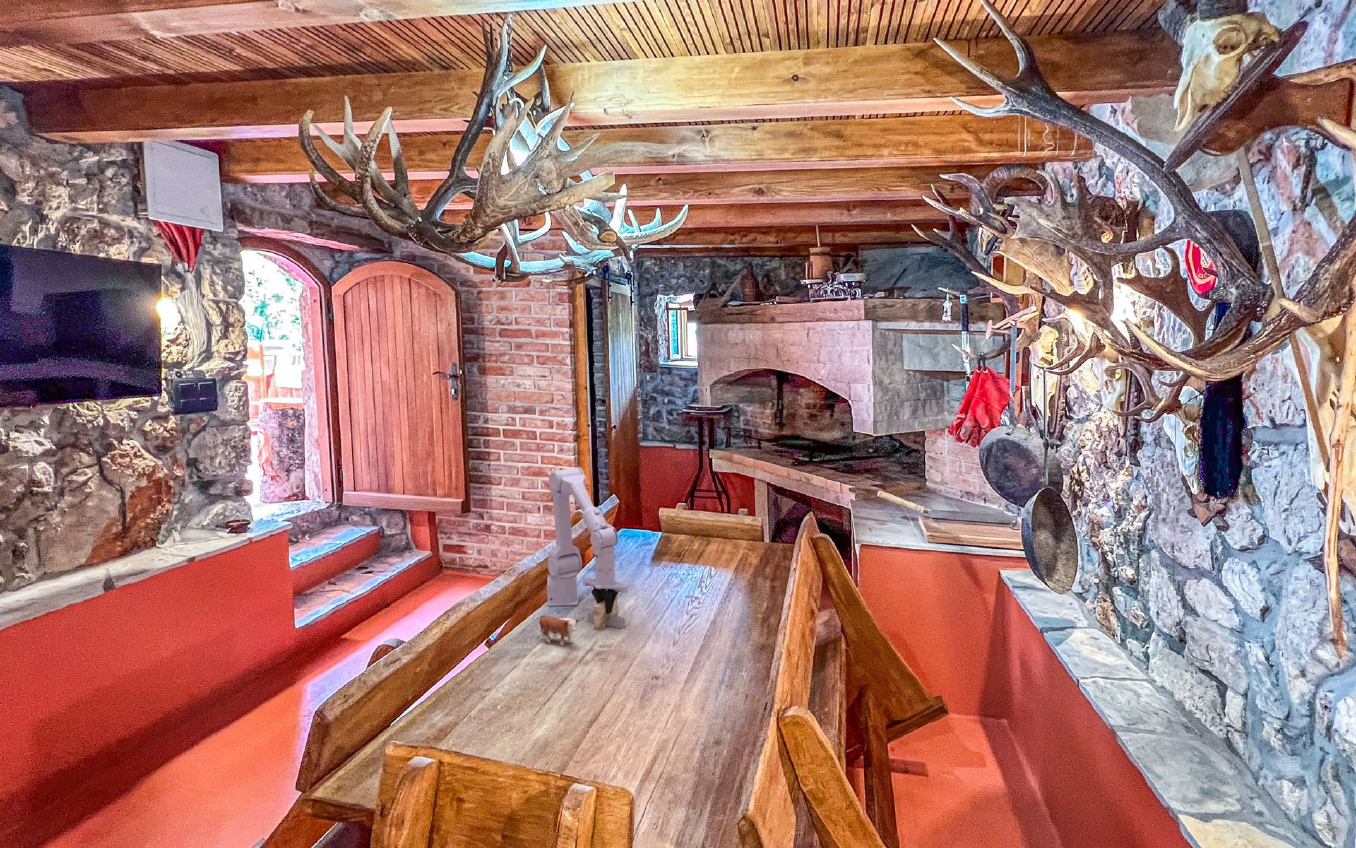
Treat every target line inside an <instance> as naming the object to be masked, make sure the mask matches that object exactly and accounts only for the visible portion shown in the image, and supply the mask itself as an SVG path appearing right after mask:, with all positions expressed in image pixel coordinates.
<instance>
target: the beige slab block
mask: <svg viewBox="0 0 1356 848" xmlns="http://www.w3.org/2000/svg"><path fill="white" fill-rule="evenodd" d="M593 611H594V623H593V630H596V631H601V630H602V629H604V628H606V625H605V620H606V619H608V618H610V617H611V616H613V615H614V616H618V612H619V611H618V595H617V596H616V598H615V601H614V604H613V608H612V612H611V613H610V614H606V604H605V600H604V601H602V602H600V603H599V604H597V603H596V604H595V605H593Z"/></svg>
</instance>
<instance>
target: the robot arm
mask: <svg viewBox="0 0 1356 848" xmlns="http://www.w3.org/2000/svg"><path fill="white" fill-rule="evenodd" d="M586 478H587V477H586V474H585V471H584V470H583V468H581V467H579V466H577V467H573V468H565V469H560V470H559V469H558V470H555V469H553V470H552V471H551V472H550V474H549V475H548V485H549V486H548V487H549V495H551V496H552V501H553V516H554V532H555V542H556V543H555V546H554V547H553V548H552V549H551V550H550V551H548V560H547V569H548V572H549V574H548V575H547V583H546V591H547V592H546V597H547V606H548V607H549V606H550V607H557V606H560V607H561V606H563V607H564V606H577V605H578V604H579V599H580V595H578V582H577V581H578V580H577V578H578V577H577V575H579V572H580V571H581V569H582V567H583V560H582V556H581V552H580V551H581V550H580V549H579V548H578V547H576V546H575V545H573V533H572V532H573V531H572V518H571V505H570V503H571V502H570V496H571V495H572V497H573V498H574V500H575V502H576V504H577V505H578V506H579V507H580V509H581V511H582V513H583V514H582V516H581V517H582V521H583V522H584V524H585V526H586V528H587V530H588V532H589V533H590V537H589V540H590V544H591V546H592V547H591V548H592V553H593V554H594V574H595V575H594V578H591V577H586V578H584V579H583V580H582V586H583V587H591V588H592V587H593V589H592V590H591V595H592V596H593V598H594V599H595V602H596V605H597V604H599V603H600V602H602V601H604V600H605V604H606V614H610V613H611V612H612V608H613V604H614V601H615V598H616V596H617V597H618V594H619V592H620V593H621V594H626V593H627V592H628V589H629V588H628V587H629V585H627V584H624V583H621V582H620V581H619V582H618V581H615V580H616V577H615V546H617V544H618V541H619V535H618V532H617V529H616V528H615V527H614V526H612V525H611V524H610V523H608V522H607V520H606V519H605V516H604V515H603V513H602V512H601V510H600V508H598V507H596V506H594V503H593V502H592V499H591V497H590V495H589V492H588V491H587V488H586V483H587V481H586Z"/></svg>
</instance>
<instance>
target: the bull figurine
mask: <svg viewBox="0 0 1356 848" xmlns="http://www.w3.org/2000/svg"><path fill="white" fill-rule="evenodd" d="M578 622H579V618H577V619H574V618H570V617H564V618H563V617H562V618H560V617H555V616H549V615H545V614H544V615H541V616H540V617H539V626H540V634H541V636H542V637H543V638H545V641H546V642H547V643H548V644H551V643H552V641H551V638H552V637H551V636H550V633H552V634H554V636H557V635H560V643H559V644H560V646H561V647H564V646H565V643H564V639H565V637H566V638H567V639H568V643H569V644H570V645H571V644H574V642H573V640H572V638H571V637H572V636H571V635H572V634H573V632H577V630H578V629H577V628H576V623H578Z"/></svg>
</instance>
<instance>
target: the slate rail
mask: <svg viewBox="0 0 1356 848" xmlns="http://www.w3.org/2000/svg"><path fill="white" fill-rule="evenodd" d="M586 620H587V622H589V623H593V624H594V610H589V611H588V612H587V619H586ZM625 625H626V623H625V617H623V616H614V615H613V616H611V617H610V618H608V619H606V620H605V626H608V627H613V628H617V629H623V628H625Z"/></svg>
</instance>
